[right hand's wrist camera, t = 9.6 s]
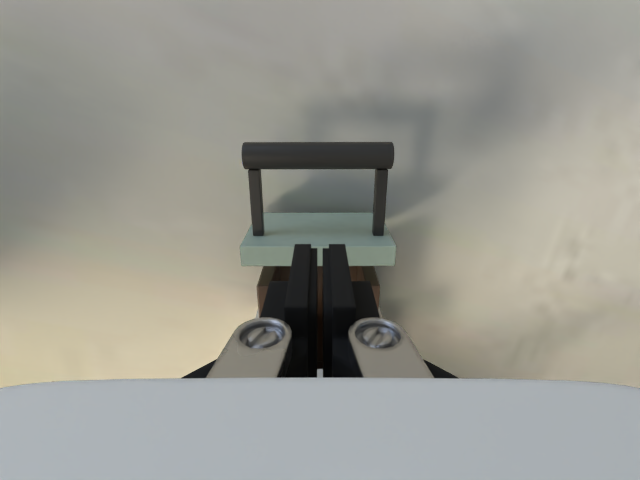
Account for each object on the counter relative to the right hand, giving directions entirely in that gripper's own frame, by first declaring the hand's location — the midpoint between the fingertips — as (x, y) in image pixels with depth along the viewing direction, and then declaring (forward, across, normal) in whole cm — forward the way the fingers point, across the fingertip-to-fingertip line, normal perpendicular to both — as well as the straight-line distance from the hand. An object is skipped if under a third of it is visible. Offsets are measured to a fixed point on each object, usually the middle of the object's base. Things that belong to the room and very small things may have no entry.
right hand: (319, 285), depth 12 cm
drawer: (+13, 0, +5) cm, 14 cm away
